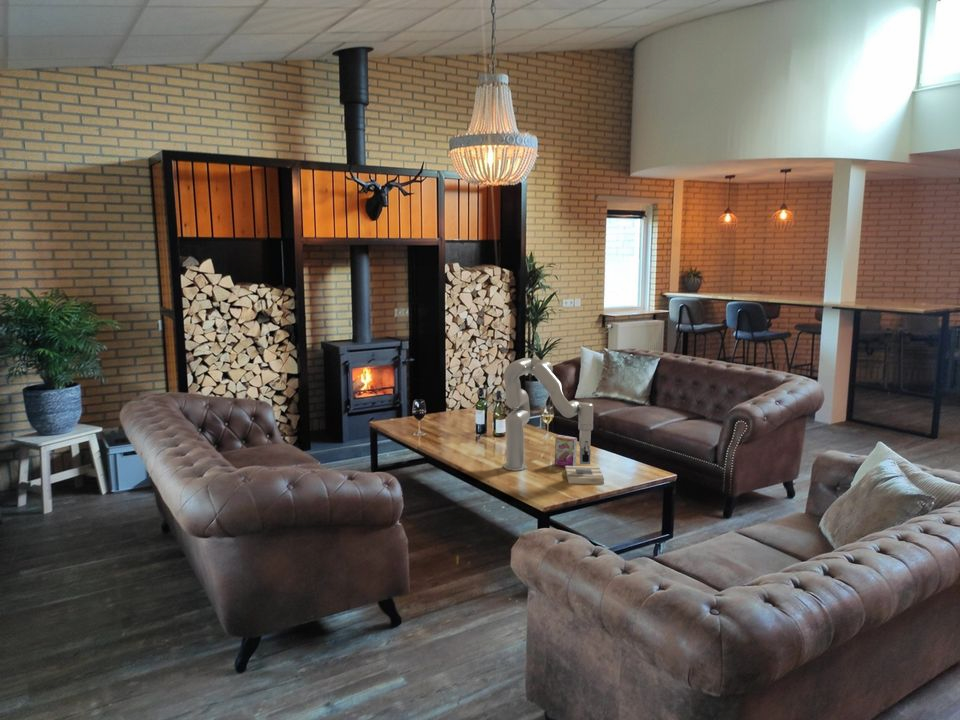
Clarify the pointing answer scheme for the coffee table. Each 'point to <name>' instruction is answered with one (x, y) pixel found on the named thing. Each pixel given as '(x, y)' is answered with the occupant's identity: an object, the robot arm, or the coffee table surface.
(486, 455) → the coffee table surface
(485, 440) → the coffee table surface
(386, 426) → the coffee table surface
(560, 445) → the candy bar box
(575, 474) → the birch base
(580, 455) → the slate block
